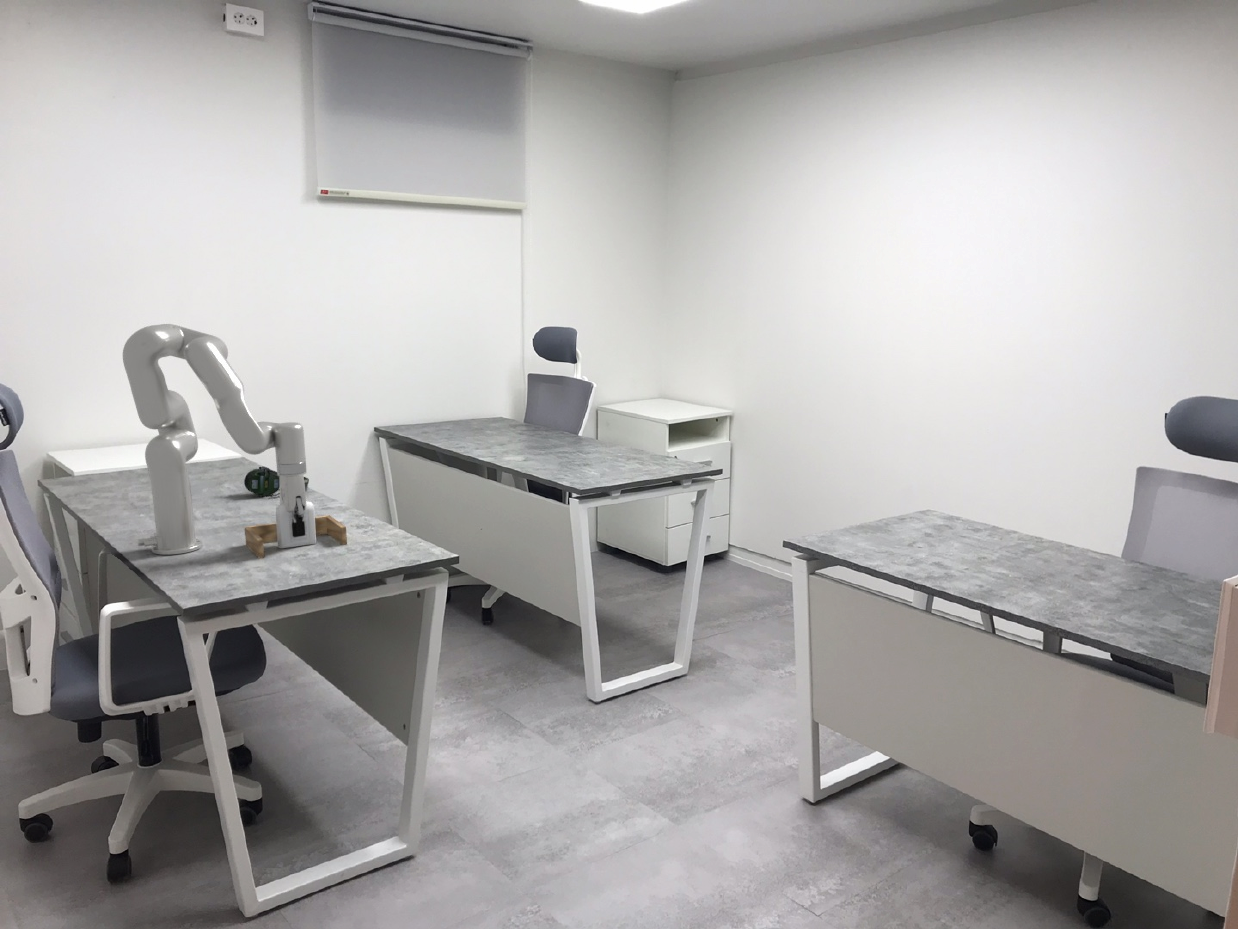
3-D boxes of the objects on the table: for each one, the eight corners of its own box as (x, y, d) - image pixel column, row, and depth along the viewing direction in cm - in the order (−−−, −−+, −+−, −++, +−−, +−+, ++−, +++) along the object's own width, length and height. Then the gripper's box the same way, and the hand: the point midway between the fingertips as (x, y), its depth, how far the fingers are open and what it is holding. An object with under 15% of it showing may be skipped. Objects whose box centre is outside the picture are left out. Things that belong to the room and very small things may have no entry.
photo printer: (314, 540, 267) (310, 497, 265) (318, 544, 264) (315, 500, 261) (276, 546, 262) (272, 502, 259) (280, 550, 258) (276, 505, 256)
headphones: (258, 486, 311) (317, 486, 324) (249, 453, 317) (308, 455, 330) (245, 509, 319) (303, 509, 332) (237, 477, 325) (295, 478, 338)
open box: (259, 558, 251) (257, 540, 250) (246, 544, 264) (244, 527, 263) (347, 544, 263) (346, 526, 262) (330, 532, 276) (329, 515, 275)
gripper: (269, 465, 263) (274, 529, 267) (285, 475, 249) (290, 543, 253) (297, 462, 267) (302, 525, 271) (314, 472, 253) (319, 538, 257)
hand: (296, 533), depth 262 cm, fingers closed on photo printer, 4 cm apart
